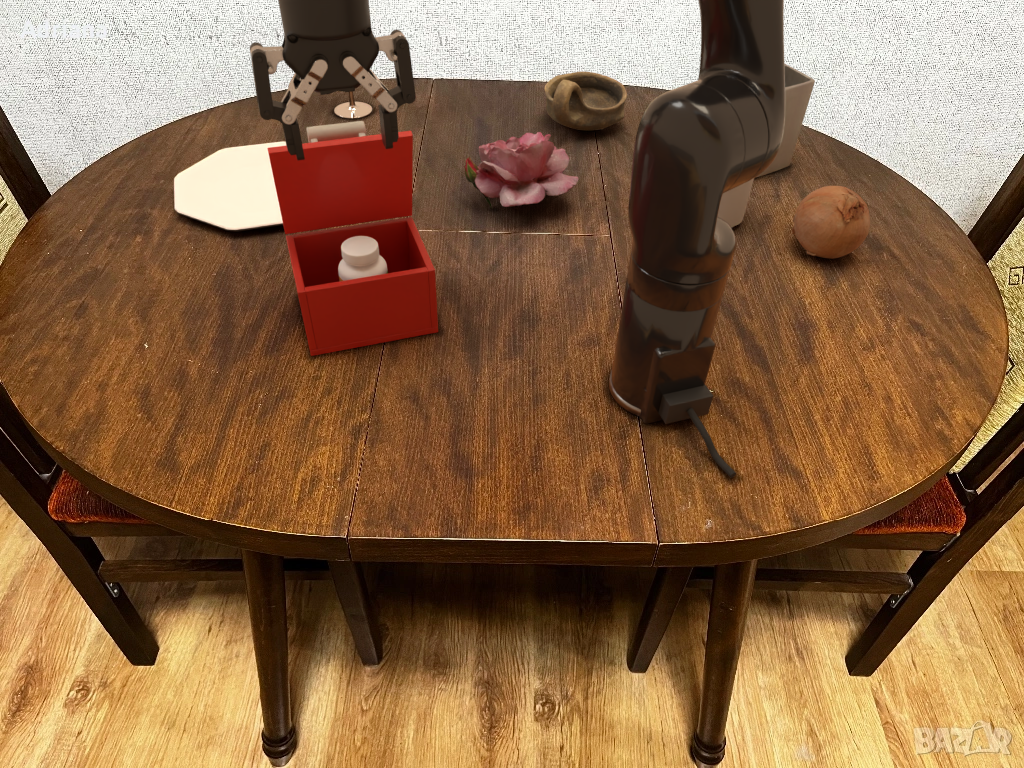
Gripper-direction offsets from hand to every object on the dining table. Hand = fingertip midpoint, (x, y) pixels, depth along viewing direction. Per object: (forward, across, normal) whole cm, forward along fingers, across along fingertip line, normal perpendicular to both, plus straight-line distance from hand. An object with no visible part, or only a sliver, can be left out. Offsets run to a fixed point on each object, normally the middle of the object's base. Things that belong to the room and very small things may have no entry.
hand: (344, 151), depth 74 cm
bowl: (+22, +44, +41) cm, 64 cm away
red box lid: (+7, 0, +5) cm, 8 cm away
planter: (+22, +67, +22) cm, 74 cm away
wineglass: (+21, +9, +57) cm, 62 cm away
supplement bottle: (+21, 0, +1) cm, 21 cm away
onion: (+22, +61, -2) cm, 65 cm away
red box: (+22, 0, +2) cm, 22 cm away
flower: (+22, +26, +21) cm, 40 cm away
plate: (+21, -9, +34) cm, 41 cm away
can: (+22, +51, +9) cm, 56 cm away
